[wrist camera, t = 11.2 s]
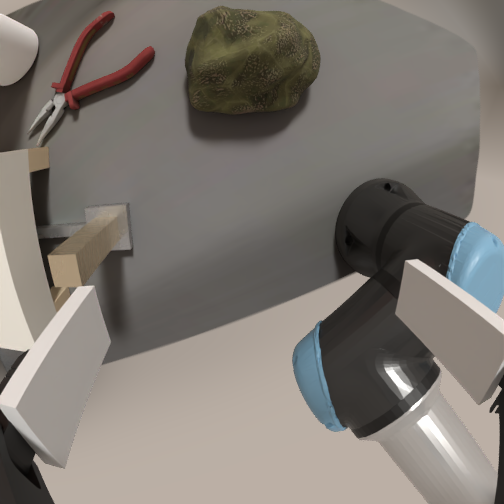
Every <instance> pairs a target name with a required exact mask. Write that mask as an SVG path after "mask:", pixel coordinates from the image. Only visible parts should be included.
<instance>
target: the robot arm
mask: <svg viewBox="0 0 504 504" xmlns="http://www.w3.org/2000/svg"><path fill="white" fill-rule="evenodd" d="M336 241H337V246H338V249H339V252H340V254H341V256H342V257H343V259H344V260H345V261H346V262H347V263H348V264H349V265H350V266H351V267H352V268H353V269H354V270H355V271H357V272H358V273H360V274H362V275H364V276H367V277H371V278H370V279H369V280H368V281H367V282H366V283H365V284H364V285H362V286H361V287H360V288H359V289H358V290H357V291H356V292H355V293H354V294H353V295H352V296H351V297H350V298H349V299H348V300H346V301H345V302H344V303H343V304H342V305H341V306H340V307H339V308H338V309H337V310H335V311H334V312H333V313H332V314H331V315H329V316H328V317H327V318H326V319H325V320H323V321H319V322H318V323H317V324H316V326H315V328H314V329H313V330H312V331H311V332H310V333H308V334H307V335H306V336H305V337H304V338H303V339H302V340H301V341H300V342H299V343H298V344H297V345H296V347H295V349H294V352H293V360H292V361H293V368H294V374H295V378H296V381H297V384H298V386H299V389H300V391H301V393H302V395H303V397H304V399H305V401H306V403H307V405H308V406H309V408H310V409H311V411H312V412H313V414H314V415H315V417H316V418H317V419H318V420H319V421H320V422H321V423H322V424H325V426H326V428H327V429H329V430H331V431H334V432H338V431H343V430H345V429H347V428H348V427H349V428H350V429H351V430H352V432H353V433H354V434H355V436H356V437H357V438H358V439H359V440H372V441H378V442H379V443H380V444H381V446H382V447H383V448H384V449H385V451H386V452H387V453H388V454H389V456H390V457H391V458H392V459H393V461H394V462H395V463H396V464H397V466H398V467H399V468H400V469H401V470H402V472H403V473H404V474H405V475H406V477H407V478H408V479H409V480H410V481H411V483H412V484H413V485H414V487H415V488H416V489H417V490H418V491H419V493H420V494H421V495H422V496H423V497H424V499H425V500H426V501H427V502H428V503H429V504H504V320H503V319H502V318H501V317H499V316H498V315H497V314H496V313H497V311H498V308H499V306H500V304H501V301H502V298H503V295H504V245H503V244H502V242H501V241H500V239H499V238H498V237H497V236H495V235H494V234H492V233H490V232H489V231H487V230H485V229H484V228H482V227H480V225H479V224H477V223H475V222H469V221H467V220H464V219H462V218H460V217H457V216H455V215H452V214H450V213H447V212H445V211H442V210H440V209H437V208H434V207H432V206H429V205H426V204H425V203H424V202H423V201H422V200H421V199H420V198H419V197H418V196H417V195H416V194H415V193H414V192H413V191H412V190H411V189H410V188H409V187H407V186H406V185H404V184H402V183H400V182H397V181H394V180H390V179H383V178H381V179H374V180H370V181H368V182H365V183H364V184H362V185H360V186H359V187H358V188H356V189H355V190H354V191H353V192H352V193H351V194H350V195H349V197H348V198H347V199H346V201H345V203H344V204H343V206H342V208H341V211H340V213H339V216H338V220H337V225H336ZM110 343H111V341H110V338H109V335H108V332H107V329H106V325H105V322H104V319H103V316H102V312H101V309H100V305H99V302H98V298H97V294H96V291H95V287H94V286H79V287H78V288H77V289H76V290H75V291H74V293H73V294H72V295H71V296H70V297H69V299H68V300H67V301H66V302H65V304H64V305H63V306H62V307H61V309H60V310H59V311H58V312H57V314H56V315H55V316H54V318H53V319H52V320H51V322H50V323H49V324H48V326H47V327H46V328H45V330H44V331H43V332H42V334H41V335H40V336H39V338H38V339H37V340H36V342H35V343H34V345H33V346H32V347H31V349H28V350H27V351H25V352H24V353H23V354H22V355H20V356H19V357H18V358H17V360H16V361H15V363H14V364H13V365H12V367H11V370H9V371H8V373H7V374H6V378H4V379H3V380H2V382H1V384H0V504H54V502H53V500H52V498H51V496H50V494H49V491H48V489H47V487H46V485H45V483H44V480H43V478H42V476H41V473H40V471H39V469H38V467H37V465H36V464H35V462H34V461H33V458H34V455H35V453H36V454H37V455H38V456H39V457H40V458H41V460H42V461H43V462H44V463H46V464H49V465H53V466H56V467H60V468H65V466H66V463H67V459H68V456H69V453H70V449H71V446H72V443H73V440H74V437H75V433H76V431H77V428H78V425H79V422H80V419H81V416H82V414H83V411H84V408H85V405H86V402H87V400H88V397H89V394H90V392H91V389H92V387H93V384H94V382H95V379H96V376H97V374H98V371H99V369H100V367H101V364H102V362H103V359H104V357H105V355H106V352H107V350H108V348H109V345H110ZM434 357H436V358H437V359H438V360H439V361H440V362H441V363H442V364H443V365H444V366H445V368H446V369H447V370H448V371H449V372H450V373H451V374H452V375H453V376H454V378H455V379H456V380H457V381H458V382H459V383H460V384H461V385H462V387H463V388H464V389H465V390H466V391H467V393H468V394H469V395H470V396H471V397H472V398H473V400H474V401H475V402H476V403H477V404H478V405H480V404H481V403H483V402H485V401H486V400H488V399H489V398H491V397H492V395H493V393H494V391H495V390H496V388H497V386H498V385H499V386H500V387H501V388H502V390H501V392H500V393H499V395H498V397H497V398H496V400H495V401H494V403H493V405H492V406H491V408H490V413H491V412H492V411H493V410H494V408H495V407H496V405H499V407H498V408H497V410H496V411H495V413H499V419H500V446H499V467H498V474H497V472H496V470H495V469H494V467H493V466H492V464H491V463H490V461H489V460H488V458H487V457H486V455H485V454H484V452H483V451H482V449H481V448H480V446H479V445H478V443H477V442H476V441H475V439H474V438H473V436H472V435H471V433H470V432H469V431H468V429H467V428H466V426H465V425H464V424H463V422H462V421H461V419H460V418H459V417H458V415H457V414H456V412H455V411H454V410H453V408H452V407H451V406H450V404H449V403H448V402H447V400H446V399H445V398H444V396H443V395H442V394H441V392H440V390H439V387H440V381H441V376H442V371H441V370H440V368H439V367H438V366H437V364H436V363H435V362H434V360H433V358H434Z"/></svg>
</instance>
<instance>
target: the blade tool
mask: <svg viewBox="0 0 504 504" xmlns="http://www.w3.org/2000/svg"><path fill="white" fill-rule="evenodd" d="M85 214H86V222H80V223H67V224H56V225H44V226H36V231H37V236H38V239H42V238H56V237H69V238H68V239H67V240H66V241H64V242H63V243H62V244H61V245H59V246H58V247H57V248H56V249H55V250H53V251H52V252H51V253H50V254H49V255H47V256H48V260H49V265H50V269H51V273H52V278H53V282H54V285H55V287H79V286H84V284H85V283H86V282H87V280H88V279H89V278H90V276H91V275H92V274H93V273H94V271H95V270H96V269H97V267H98V266H99V265H100V264H101V262H102V261H103V260H104V258H105V257H106V256H107V255H108V253H109V252H110V251H111V250H131V248H132V247H133V240H132V230H131V221H130V210H129V203H116V204H103V205H92V206H88V207H86V208H85Z"/></svg>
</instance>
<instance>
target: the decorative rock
mask: <svg viewBox="0 0 504 504" xmlns="http://www.w3.org/2000/svg"><path fill="white" fill-rule="evenodd" d="M185 67H186V71H187V76H188V90H189V99H190V102H191V104H192V106H193V107H194V108H195V109H197V110H200V111H205V112H219V113H226V114H231V115H236V114H243V113H249V112H272V111H278V110H282V109H287V108H291V107H293V106H295V105H296V104H297V103H298V101H299V98H300V96H301V94H302V93H303V91H304V90H305V89H306V88H307V87H309V86H310V85H311V84H312V83H313V82H314V80H315V79H316V78H317V75H318V72H319V67H320V52H319V50H318V46H317V43H316V41H315V39H314V37H313V35H312V34H311V32H310V31H309V30H308V29H307V28H306V27H305V26H303V25H302V24H301V23H300V22H298V21H297V20H295V19H294V18H293V17H292V16H291V15H290V14H288V13H285V12H281V11H254V10H243V9H230V8H228V7H224V6H218V7H216V8H214V9H212V10H209V11H207V12H206V13H205V14H203V15H201V16H200V17H199V18H198V19H197V22H196V26H195V28H194V31H193V33H192V37H191V39H190V41H189V44H188V47H187V52H186V57H185Z"/></svg>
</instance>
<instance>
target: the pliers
mask: <svg viewBox="0 0 504 504" xmlns="http://www.w3.org/2000/svg"><path fill="white" fill-rule="evenodd" d="M114 17H115V15H114V13H113V12H111V11H107V12H104V13H102V14H101V15H100V16H99V17H98V18H96V19H95V20H94V21H93V22H92V23H91V24H89V25H88V26H87V27H86V28H85V29H84V31H83V32H82V33H81V35H80V36H79V38H78V40H77V42H76V44H75V46H74V48H73V51H72V53H71V55H70V58H69V60H68V63H67V65H66V68H65V70H64V73H63V76H62V78H61V81H60V83H52V86H51V87H52V88H55V89H57V90H56V92H57V94H56V96H55V97H54V100H52V99H51V100H50V101H49V102H48V103H47V104H46V105H45V106H44V107H43V109H42V110H41V112H40V113H39V115H38V116H37V118H36V120H35V121H34V123H33V124H32V126H31V128H30V129H29V131H28V133H27V134H29V133H30V132H31V131H32V130H33V129H34V128H35V127H36V126H37V125H39V124H40V123H41V122H42V121H43V120H44V119H45V118H46V117H47V116H48V115H49V114H50V113H51V112H52V107H53V106H54V105H55V107H56V108H55V110H54V112H53V113H52V115H50V117H49V118H48V120H47V122H46V124H45V126H44V129H43V131H42V133H41V135H40V138H39V140H38V143H37V145H36V146H38V145H39V144H40V143H41V141H42V140H43V139H44V138H45V136H46V135H47V134H48V133H49V131H50V130H51V129H52V128H53V127H54V125H55V124H56V123H57V122H58V120H59V119H60V117H61V116H62V114H63V113H64V111H65V110H64V109H63V108H64V107H66V106H67V105H68V104H69V106H70V108H71V109H74V110H76V109H79V108H80V106H79V100H80V99H82V98H84V97H87V96H89V95H91V94H94V93H96V92H99V91H101V90H104V89H106V88H109V87H111V86H114V85H117V84H119V83H122V82H124V81H126V80H127V79H129V78H131V77H132V76H134V75H135V74H136V73H137V72H138V71H140V70H141V69H142V68H143V67H144V66H145V65H146V64H147V63H148V62H149V61H150V60H151V59H152V58H153V56H154V54H155V51H154V49H153V48H152V47H151V46H149V47H147V48H146V49H144V50H143V51H142V52H141V53H140V54H139V55H138V56H137V57H136V58H134V59H133V60H132V61H131V62H130V63H129V64H128V65H127V66H125V67H124V68H122V69H120V70H118V71H116V72H114V73H112V74H109V75H107V76H104V77H102V78H99V79H97V80H94V81H92V82H90V83H87V84H85V85H83V86H80V87H78V88H76V89H74V90H72V91H69V90H70V87H71V84H72V81H73V79H74V76H75V73H76V71H77V68H78V66H79V63H80V61H81V58H82V56H83V53H84V51H85V49H86V46H87V45H88V43H89V41H90V40H91V38H92V37H93V36H94V34H95V33H96V32H97V31H98V30H99V29H101V28H102V27H103V26H104V25H105V24H106V23H108V22H109V21H110V20H111V19H112V18H114Z"/></svg>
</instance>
